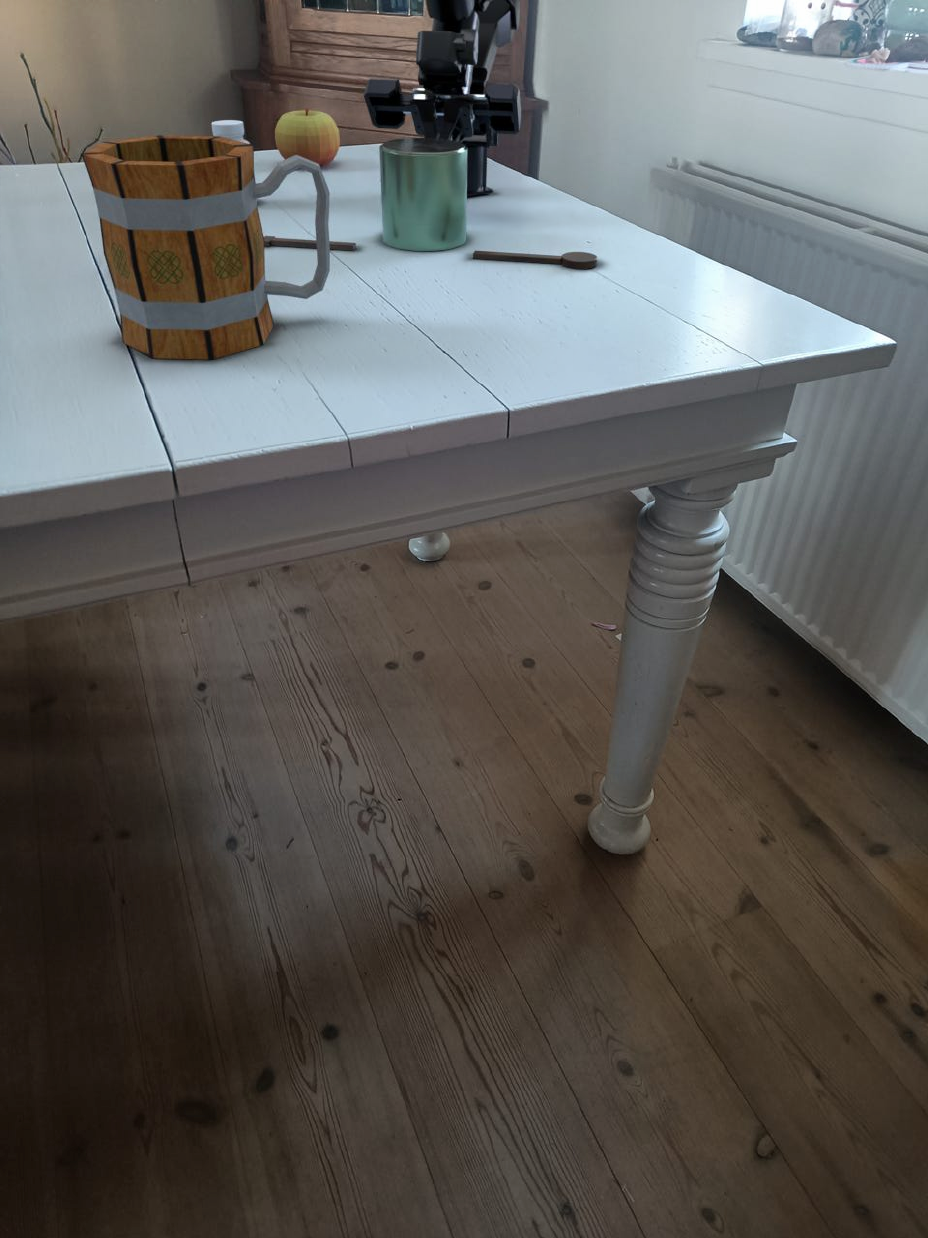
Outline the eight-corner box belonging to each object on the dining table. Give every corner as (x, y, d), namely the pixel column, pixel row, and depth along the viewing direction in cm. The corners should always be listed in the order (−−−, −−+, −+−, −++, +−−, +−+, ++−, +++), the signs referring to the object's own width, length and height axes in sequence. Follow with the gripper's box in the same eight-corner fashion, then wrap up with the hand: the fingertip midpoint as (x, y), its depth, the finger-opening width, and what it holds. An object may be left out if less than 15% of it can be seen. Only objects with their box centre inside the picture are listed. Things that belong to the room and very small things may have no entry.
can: (436, 224, 113) (435, 134, 107) (482, 243, 107) (484, 147, 100) (367, 235, 108) (363, 141, 102) (411, 255, 102) (409, 156, 96)
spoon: (470, 261, 100) (470, 254, 100) (476, 252, 103) (476, 244, 103) (595, 270, 98) (596, 262, 98) (597, 259, 102) (598, 252, 101)
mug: (129, 369, 74) (85, 170, 65) (116, 317, 84) (76, 138, 75) (357, 341, 80) (347, 155, 71) (320, 296, 90) (306, 128, 81)
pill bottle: (263, 199, 122) (253, 119, 116) (251, 209, 118) (241, 125, 112) (224, 198, 123) (213, 117, 117) (211, 207, 118) (199, 124, 113)
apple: (312, 174, 136) (307, 114, 131) (265, 166, 140) (258, 108, 135) (353, 164, 143) (350, 106, 138) (306, 156, 147) (302, 100, 142)
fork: (357, 246, 105) (357, 241, 104) (351, 252, 103) (351, 246, 102) (237, 238, 107) (236, 233, 106) (229, 244, 105) (228, 238, 104)
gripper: (363, -3, 103) (343, 119, 101) (523, 1, 101) (506, 127, 99) (383, 68, 114) (365, 181, 112) (527, 74, 112) (512, 189, 110)
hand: (434, 169), depth 108 cm, fingers closed
